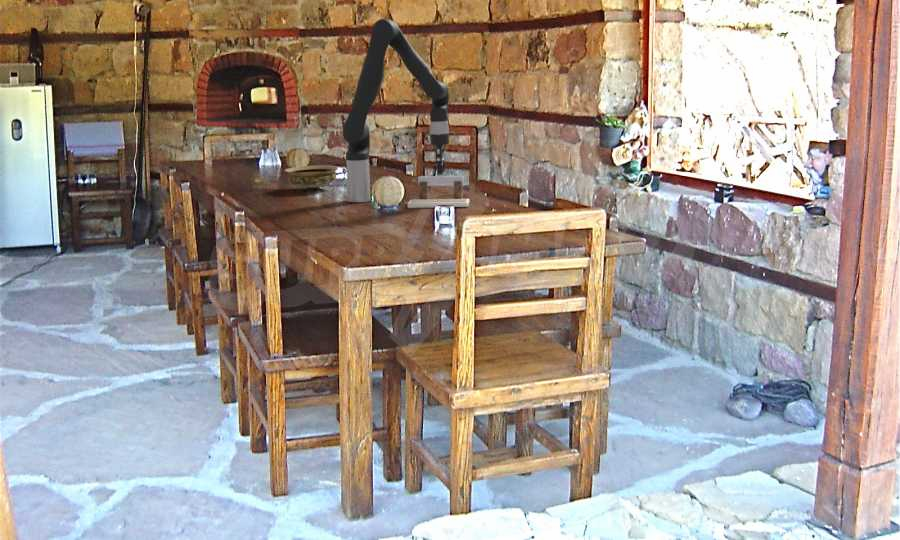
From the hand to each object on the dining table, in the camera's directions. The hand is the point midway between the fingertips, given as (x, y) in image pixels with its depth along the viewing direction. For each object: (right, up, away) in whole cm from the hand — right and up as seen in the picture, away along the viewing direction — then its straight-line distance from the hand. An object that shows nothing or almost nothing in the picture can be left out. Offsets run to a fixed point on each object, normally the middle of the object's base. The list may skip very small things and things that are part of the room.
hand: (441, 173), depth 392 cm
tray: (-1, -14, -7) cm, 15 cm away
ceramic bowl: (-59, -3, +48) cm, 76 cm away
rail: (0, -5, +1) cm, 5 cm away
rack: (0, -12, +3) cm, 12 cm away
